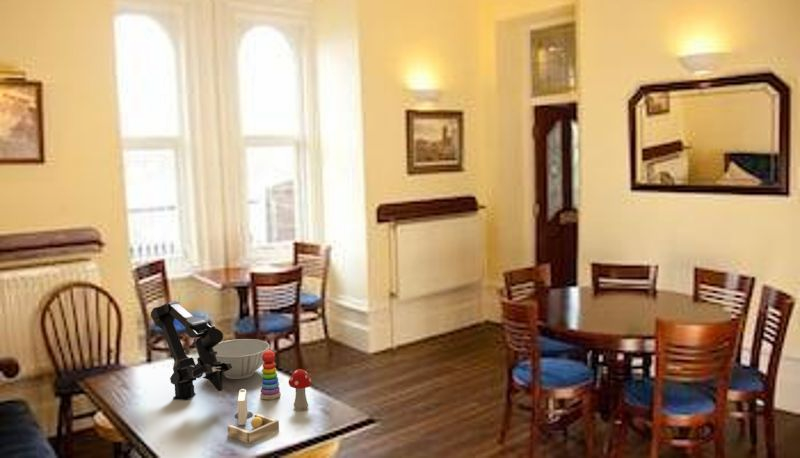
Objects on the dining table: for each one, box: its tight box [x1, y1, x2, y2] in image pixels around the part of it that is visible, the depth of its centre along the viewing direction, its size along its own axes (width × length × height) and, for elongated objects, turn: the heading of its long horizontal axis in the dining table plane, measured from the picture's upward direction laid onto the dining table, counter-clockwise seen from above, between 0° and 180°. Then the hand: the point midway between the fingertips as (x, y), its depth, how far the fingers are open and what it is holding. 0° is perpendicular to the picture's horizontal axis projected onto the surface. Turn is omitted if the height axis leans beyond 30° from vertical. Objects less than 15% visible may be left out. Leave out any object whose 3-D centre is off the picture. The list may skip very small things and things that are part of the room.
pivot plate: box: [234, 410, 253, 419], centre depth 250 cm, size 6×6×1 cm
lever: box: [237, 388, 248, 426], centre depth 245 cm, size 2×11×9 cm, turn 10°
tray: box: [227, 413, 280, 444], centre depth 235 cm, size 11×13×4 cm
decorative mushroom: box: [288, 368, 313, 412], centre depth 256 cm, size 10×9×15 cm
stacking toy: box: [259, 349, 281, 401], centre depth 268 cm, size 8×8×19 cm
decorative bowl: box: [213, 338, 271, 380], centre depth 296 cm, size 27×27×12 cm
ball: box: [250, 416, 263, 429], centre depth 238 cm, size 4×4×4 cm
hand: (220, 391), depth 253 cm, fingers closed
